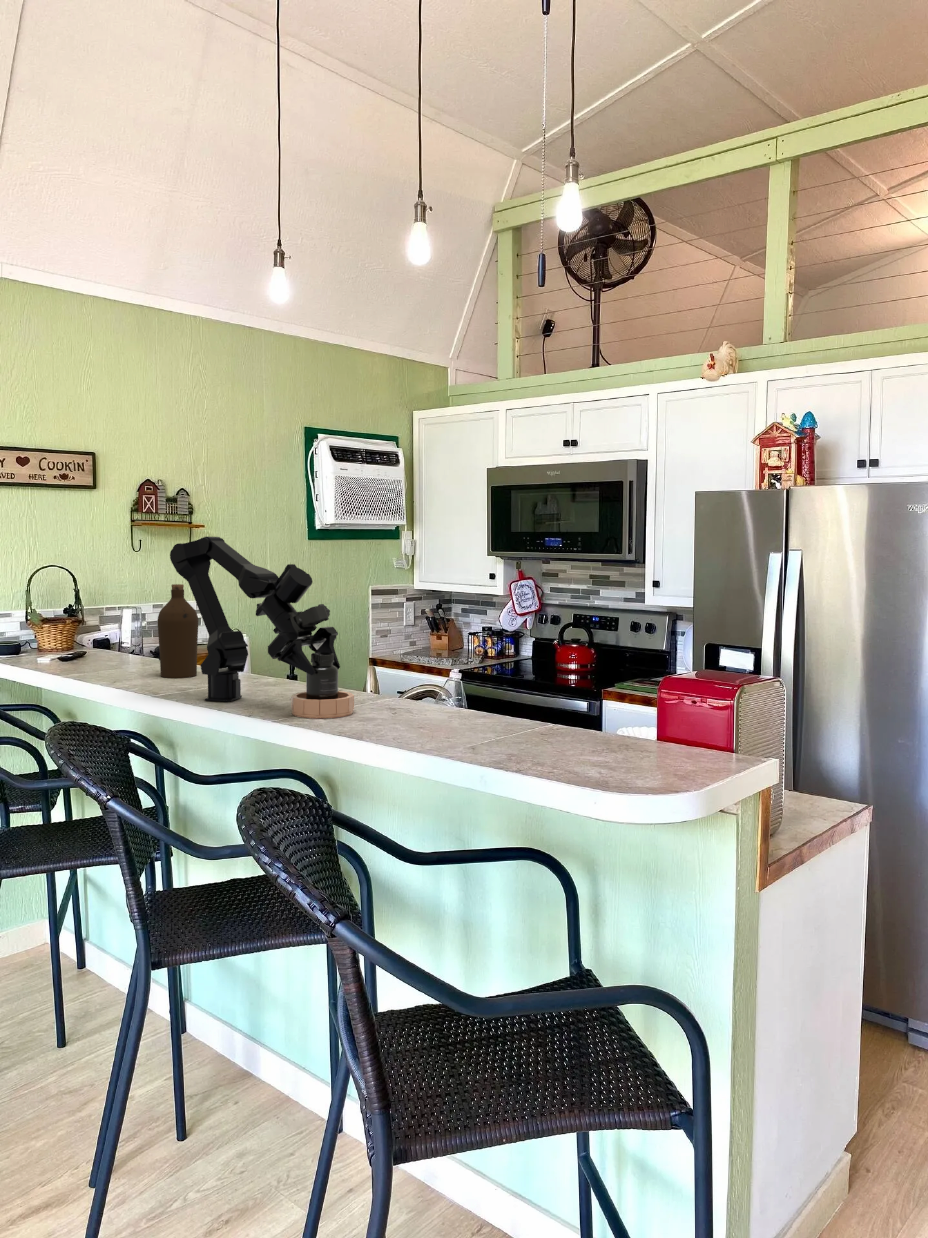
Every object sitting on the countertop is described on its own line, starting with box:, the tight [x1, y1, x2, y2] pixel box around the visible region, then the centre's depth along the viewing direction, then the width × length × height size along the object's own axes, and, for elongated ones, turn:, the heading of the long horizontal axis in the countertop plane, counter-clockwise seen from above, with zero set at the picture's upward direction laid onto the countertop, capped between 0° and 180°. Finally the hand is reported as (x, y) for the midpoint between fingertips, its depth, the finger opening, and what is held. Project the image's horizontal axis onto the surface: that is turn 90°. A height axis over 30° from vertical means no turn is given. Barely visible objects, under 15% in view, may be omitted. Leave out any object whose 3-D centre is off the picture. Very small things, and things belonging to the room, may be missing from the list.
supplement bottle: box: [305, 652, 339, 700], centre depth 194 cm, size 7×7×12 cm
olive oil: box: [157, 583, 199, 679], centre depth 245 cm, size 11×11×25 cm
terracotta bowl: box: [290, 690, 355, 719], centre depth 194 cm, size 13×13×4 cm
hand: (326, 671), depth 193 cm, fingers open, 9 cm apart
